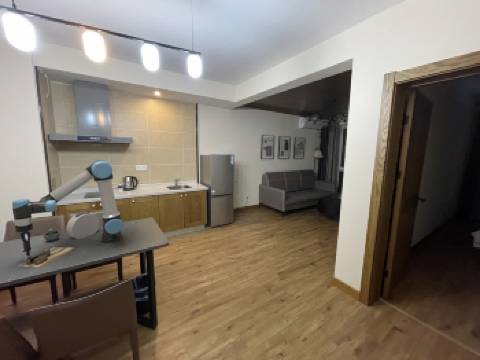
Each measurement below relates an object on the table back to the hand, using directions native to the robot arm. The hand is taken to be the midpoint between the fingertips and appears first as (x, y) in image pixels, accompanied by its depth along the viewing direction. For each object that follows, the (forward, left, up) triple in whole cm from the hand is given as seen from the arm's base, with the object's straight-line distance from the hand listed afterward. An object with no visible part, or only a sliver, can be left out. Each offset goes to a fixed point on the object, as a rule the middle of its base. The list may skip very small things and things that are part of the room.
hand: (28, 260), depth 131 cm
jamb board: (-6, -8, -3) cm, 10 cm away
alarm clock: (-2, -44, -3) cm, 44 cm away
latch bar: (-3, -4, -1) cm, 5 cm away
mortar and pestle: (+13, -31, -3) cm, 34 cm away
